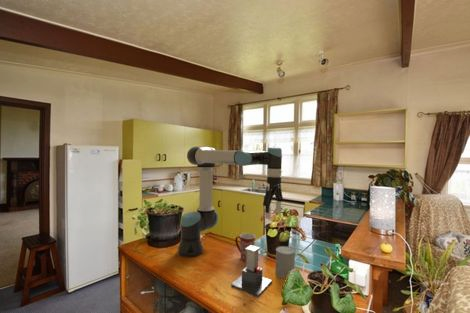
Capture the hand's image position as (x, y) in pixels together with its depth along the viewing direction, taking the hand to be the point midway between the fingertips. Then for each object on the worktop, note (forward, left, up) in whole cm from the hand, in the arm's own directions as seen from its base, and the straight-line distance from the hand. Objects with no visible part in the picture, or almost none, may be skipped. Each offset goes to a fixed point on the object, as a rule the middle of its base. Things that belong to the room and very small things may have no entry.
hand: (273, 215), depth 125 cm
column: (-1, -21, -27) cm, 34 cm away
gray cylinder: (+8, -3, -28) cm, 29 cm away
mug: (-18, 0, -28) cm, 33 cm away
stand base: (-1, -21, -28) cm, 35 cm away
